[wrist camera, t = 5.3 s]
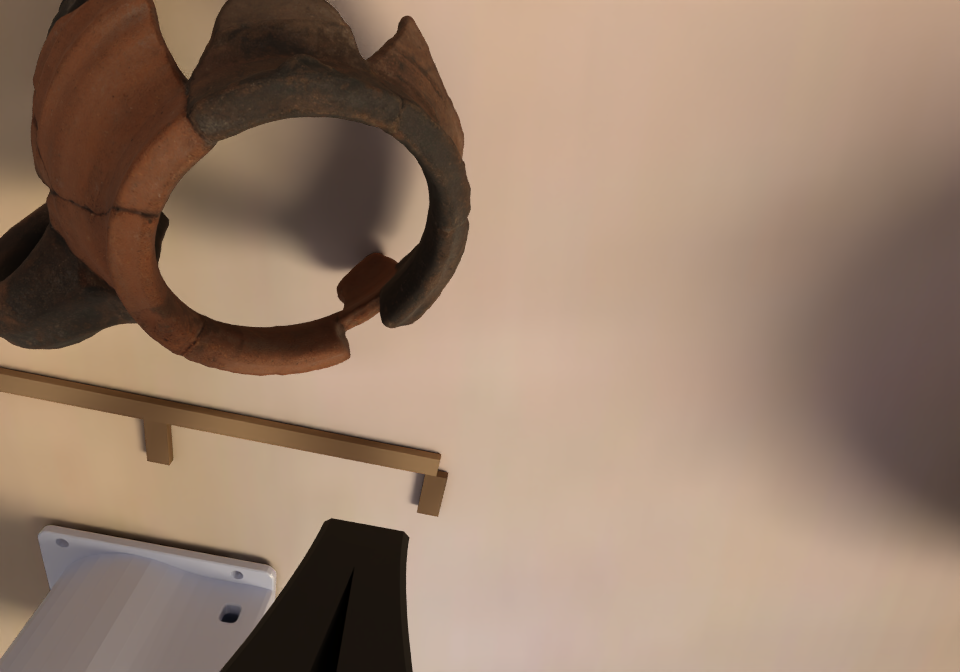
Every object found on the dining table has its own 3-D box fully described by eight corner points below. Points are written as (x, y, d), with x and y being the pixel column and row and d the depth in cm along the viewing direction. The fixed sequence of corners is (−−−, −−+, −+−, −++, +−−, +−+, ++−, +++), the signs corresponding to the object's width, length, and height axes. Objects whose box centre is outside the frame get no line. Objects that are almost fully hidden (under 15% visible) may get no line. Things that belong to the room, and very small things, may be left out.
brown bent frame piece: (247, -216, 14) (349, -122, 9) (449, 107, 21) (568, 260, 16) (-150, 120, 15) (-260, 370, 10) (169, 315, 23) (198, 517, 18)
